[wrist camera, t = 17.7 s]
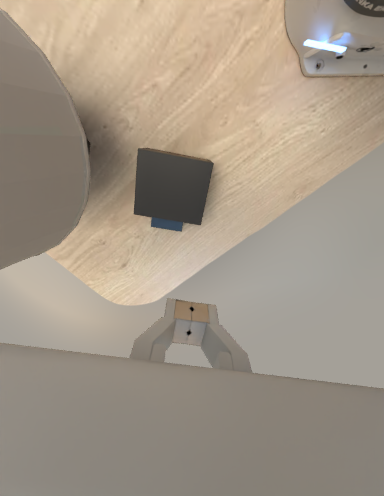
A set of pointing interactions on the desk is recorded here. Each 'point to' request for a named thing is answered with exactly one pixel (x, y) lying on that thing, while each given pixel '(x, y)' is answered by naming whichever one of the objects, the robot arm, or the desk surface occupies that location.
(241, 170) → the desk surface
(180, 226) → the box
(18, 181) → the table lamp
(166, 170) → the cabinet
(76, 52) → the desk surface
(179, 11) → the desk surface
